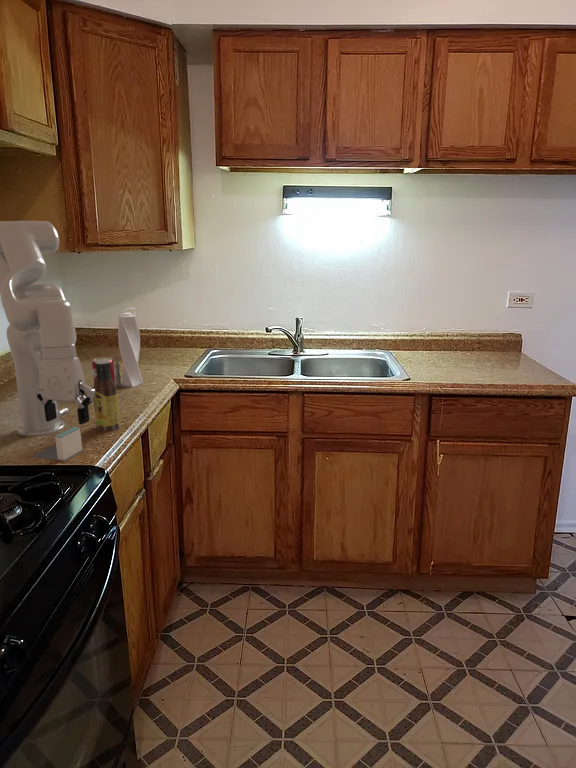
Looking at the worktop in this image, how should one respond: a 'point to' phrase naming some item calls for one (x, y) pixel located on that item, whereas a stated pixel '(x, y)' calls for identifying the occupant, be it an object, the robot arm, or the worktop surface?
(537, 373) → the worktop surface
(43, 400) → the robot arm
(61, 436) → the cream tile
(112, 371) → the soda can
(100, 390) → the sauce bottle
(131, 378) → the skyscraper
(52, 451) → the rubber mat
